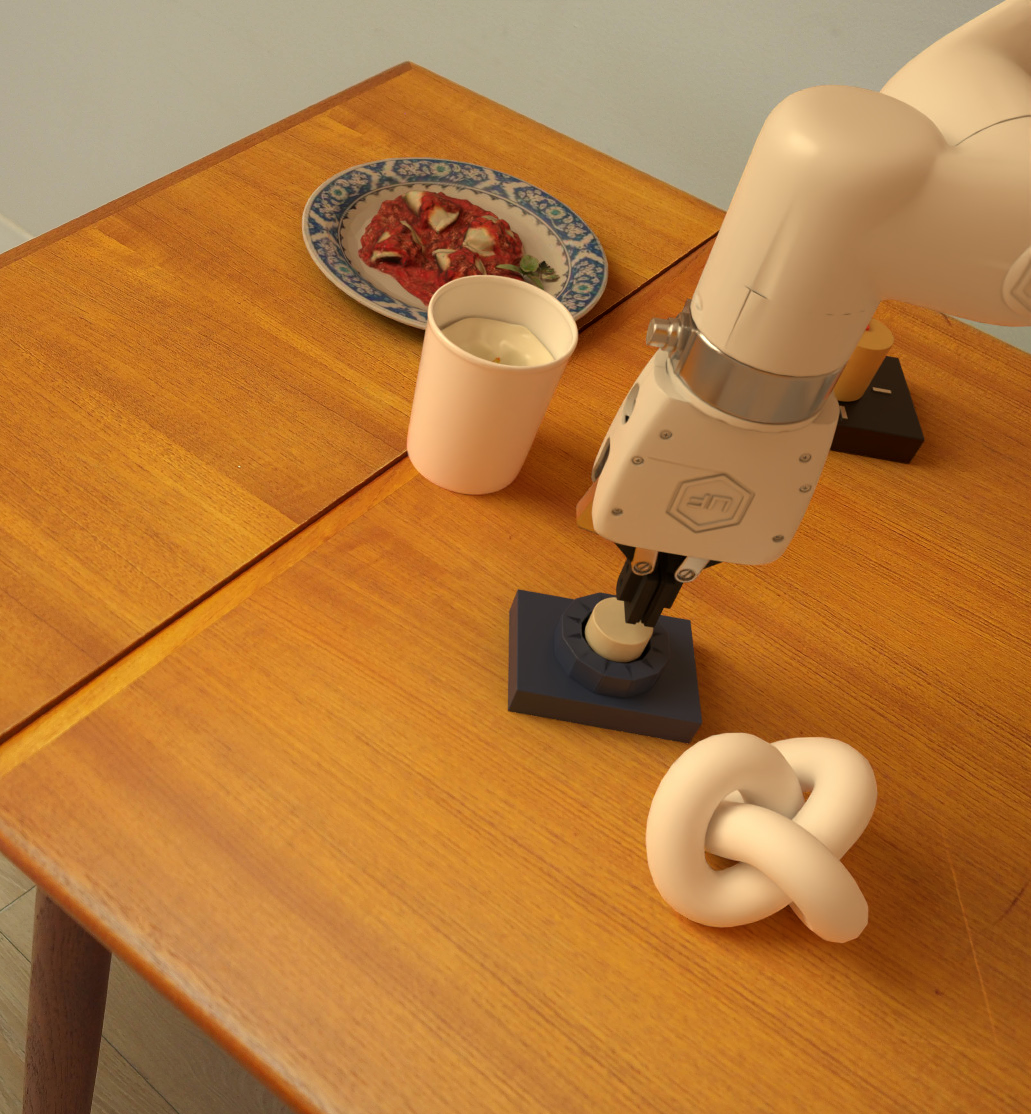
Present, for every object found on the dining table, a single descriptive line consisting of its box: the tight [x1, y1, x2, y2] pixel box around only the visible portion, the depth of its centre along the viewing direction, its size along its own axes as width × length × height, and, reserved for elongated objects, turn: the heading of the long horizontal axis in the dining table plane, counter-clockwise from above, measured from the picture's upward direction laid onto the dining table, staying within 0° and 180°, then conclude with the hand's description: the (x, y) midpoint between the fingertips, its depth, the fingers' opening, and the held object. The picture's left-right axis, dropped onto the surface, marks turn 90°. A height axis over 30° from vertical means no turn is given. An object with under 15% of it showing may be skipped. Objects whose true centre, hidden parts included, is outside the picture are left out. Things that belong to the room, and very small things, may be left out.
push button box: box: [507, 588, 703, 745], centre depth 76 cm, size 11×8×4 cm
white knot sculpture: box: [645, 732, 878, 944], centre depth 66 cm, size 11×12×9 cm
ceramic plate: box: [301, 156, 609, 331], centre depth 105 cm, size 26×26×3 cm
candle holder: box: [406, 275, 579, 496], centre depth 86 cm, size 10×10×12 cm
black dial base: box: [829, 355, 926, 465], centre depth 98 cm, size 12×10×3 cm
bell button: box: [585, 597, 653, 662], centre depth 74 cm, size 4×4×2 cm
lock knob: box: [833, 317, 895, 402], centre depth 95 cm, size 4×4×5 cm
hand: (637, 606), depth 73 cm, fingers closed
